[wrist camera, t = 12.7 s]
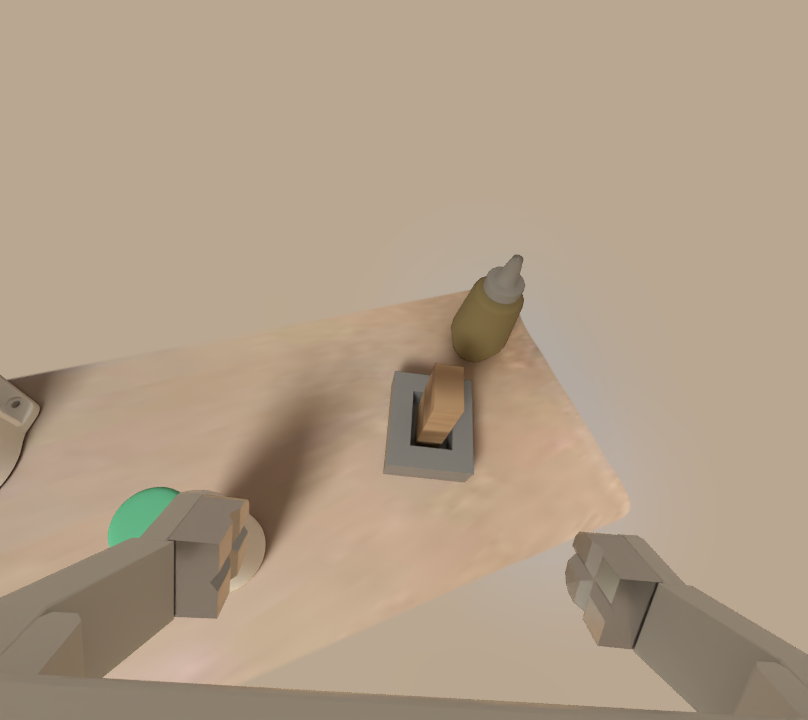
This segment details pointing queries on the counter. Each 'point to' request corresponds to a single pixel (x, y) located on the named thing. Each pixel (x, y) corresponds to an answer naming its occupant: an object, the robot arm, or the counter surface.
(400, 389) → the grey hollow block
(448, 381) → the wooden block
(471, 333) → the squeeze bottle
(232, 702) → the robot arm
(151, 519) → the milk bottle
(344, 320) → the counter surface
